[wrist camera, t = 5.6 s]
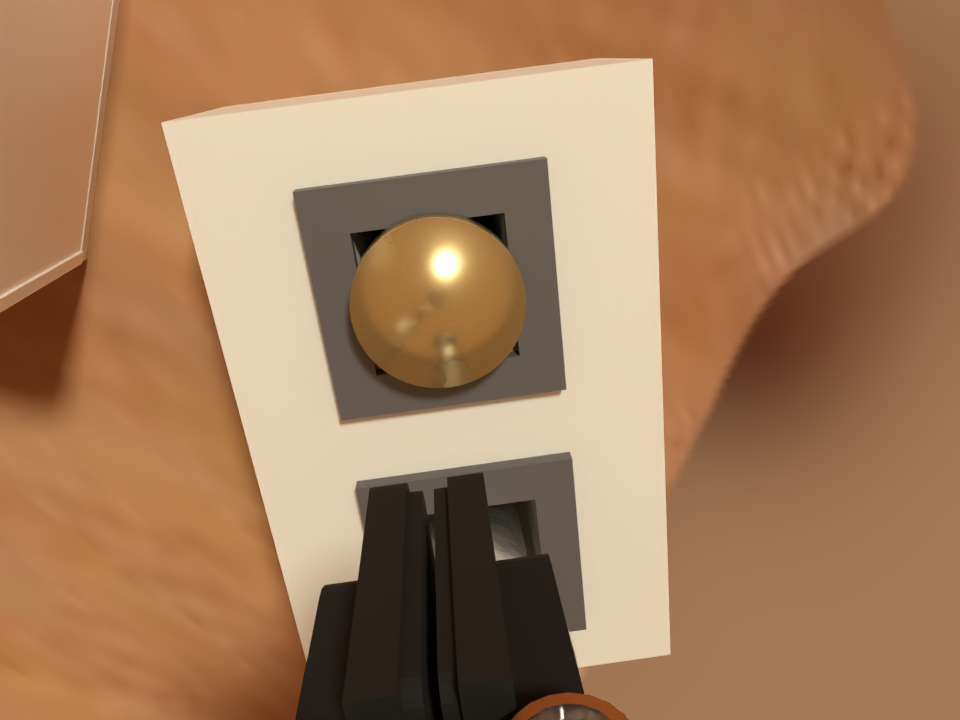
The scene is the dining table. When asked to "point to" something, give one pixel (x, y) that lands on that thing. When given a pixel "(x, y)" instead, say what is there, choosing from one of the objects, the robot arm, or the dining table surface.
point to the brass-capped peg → (437, 300)
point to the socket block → (497, 395)
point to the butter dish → (50, 135)
